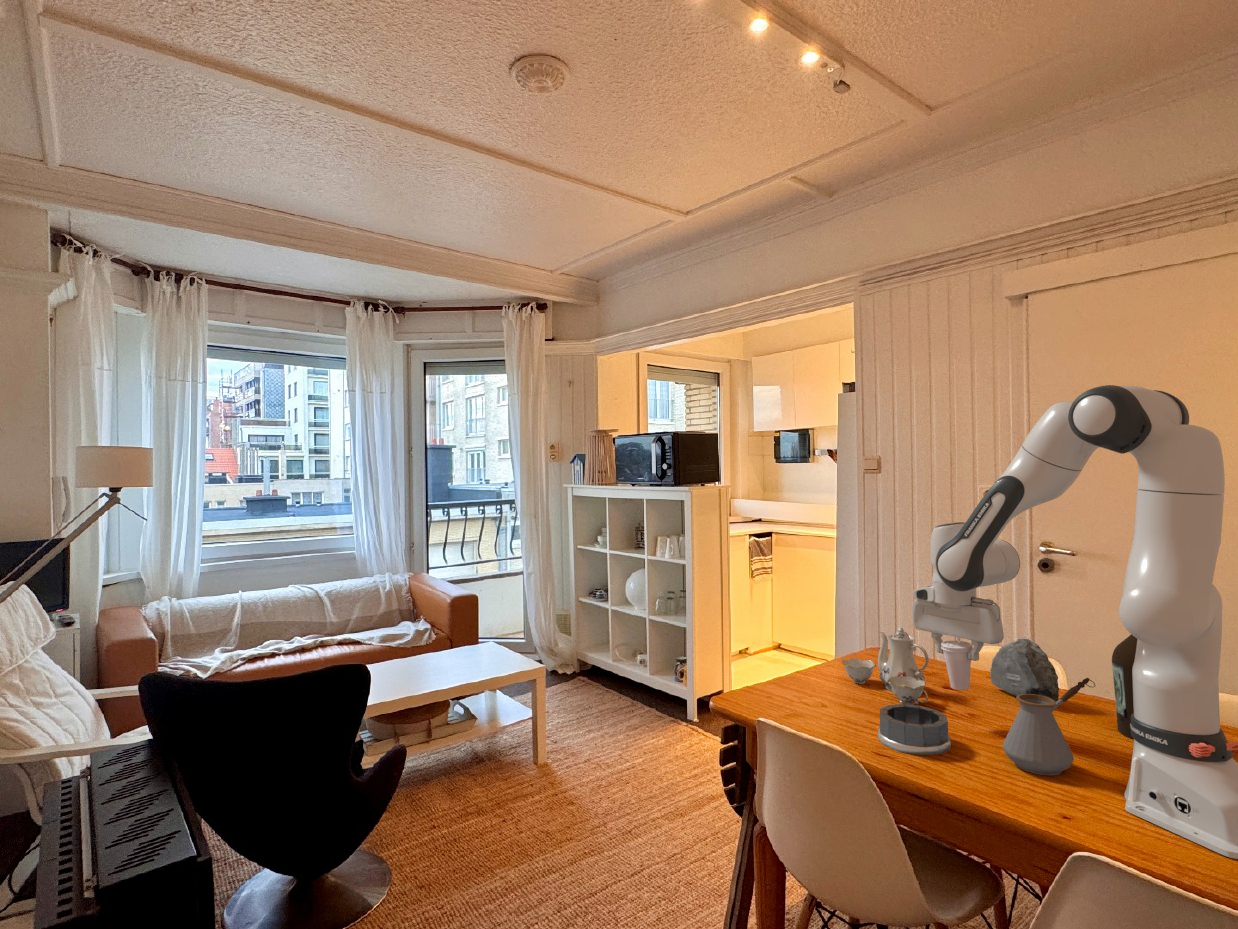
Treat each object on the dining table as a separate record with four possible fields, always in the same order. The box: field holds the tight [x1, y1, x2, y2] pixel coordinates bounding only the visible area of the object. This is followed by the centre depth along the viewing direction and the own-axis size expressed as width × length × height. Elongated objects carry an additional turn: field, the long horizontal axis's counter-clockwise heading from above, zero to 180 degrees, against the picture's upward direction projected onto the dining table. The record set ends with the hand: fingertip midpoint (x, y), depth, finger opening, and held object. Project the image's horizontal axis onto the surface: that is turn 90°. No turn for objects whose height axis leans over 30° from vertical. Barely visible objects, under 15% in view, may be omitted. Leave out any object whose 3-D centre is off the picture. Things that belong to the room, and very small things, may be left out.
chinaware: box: [841, 626, 930, 705], centre depth 171 cm, size 28×17×17 cm, turn 25°
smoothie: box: [941, 637, 974, 691], centre depth 148 cm, size 6×6×14 cm
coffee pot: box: [1002, 677, 1096, 776], centre depth 128 cm, size 21×12×15 cm, turn 111°
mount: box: [877, 703, 952, 757], centre depth 139 cm, size 14×14×6 cm
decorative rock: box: [989, 638, 1060, 702], centre depth 163 cm, size 16×7×15 cm, turn 14°
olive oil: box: [1111, 634, 1137, 740], centre depth 140 cm, size 11×11×25 cm
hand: (957, 656), depth 148 cm, fingers closed on smoothie, 6 cm apart
